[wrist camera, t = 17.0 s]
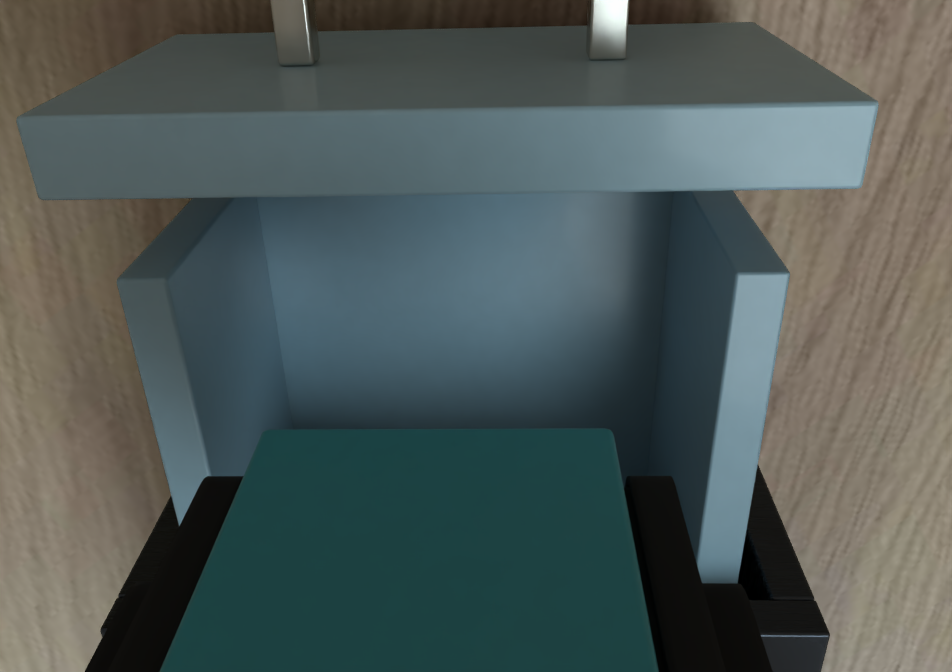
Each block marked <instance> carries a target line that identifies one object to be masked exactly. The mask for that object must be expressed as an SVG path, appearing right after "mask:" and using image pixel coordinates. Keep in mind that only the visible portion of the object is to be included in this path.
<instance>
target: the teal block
mask: <svg viewBox="0 0 952 672" xmlns="http://www.w3.org/2000/svg"><path fill="white" fill-rule="evenodd" d="M160 672H659V670H658V665H657V659H656V654H655V649H654V644H653V638H652V633H651V628H650V623H649V617H648V612H647V607H646V602H645V596H644V591H643V586H642V581H641V575H640V570H639V565H638V560H637V554H636V549H635V544H634V539H633V533H632V528H631V523H630V518H629V512H628V507H627V502H626V497H625V491H624V486H623V481H622V476H621V470H620V465H619V460H618V455H617V449H616V444H615V439H614V435H613V433H612V431H611V430H610V429H606V428H549V429H269V430H266V431H264V432H262V435H261V437H260V439H259V442H258V444H257V446H256V449H255V451H254V453H253V455H252V458H251V460H250V462H249V465H248V467H247V469H246V472H245V474H244V476H243V479H242V481H241V483H240V486H239V488H238V490H237V493H236V495H235V497H234V500H233V502H232V504H231V507H230V509H229V511H228V514H227V516H226V518H225V521H224V523H223V525H222V528H221V530H220V532H219V534H218V537H217V539H216V541H215V544H214V546H213V548H212V551H211V553H210V555H209V558H208V560H207V562H206V565H205V567H204V569H203V572H202V574H201V576H200V579H199V581H198V583H197V586H196V588H195V590H194V593H193V595H192V597H191V600H190V602H189V604H188V606H187V609H186V611H185V613H184V616H183V618H182V620H181V623H180V625H179V627H178V630H177V632H176V634H175V637H174V639H173V641H172V644H171V646H170V648H169V651H168V653H167V655H166V658H165V660H164V662H163V665H162V667H161V669H160Z"/></svg>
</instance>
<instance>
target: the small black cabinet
mask: <svg viewBox="0 0 952 672" xmlns="http://www.w3.org/2000/svg"><path fill="white" fill-rule="evenodd" d="M178 528H179V524H178V520H177V516H176V512H175V508H174V504H173V500H172V496H171V497H170V499H169V500H168V502H167V504H166V506H165V508H164V510H163V512H162V514H161V516H160V517H159V519H158V521H157V523H156V525H155V527H154V529H153V531H152V533H151V534H150V536H149V538H148V540H147V542H146V544H145V546H144V548H143V550H142V551H141V553H140V555H139V557H138V559H137V561H136V563H135V565H134V567H133V568H132V570H131V572H130V574H129V576H128V578H127V580H126V582H125V584H124V585H123V587H122V589H121V591H120V593H119V598H117V599H116V601H115V603H114V605H113V607H112V609H111V611H110V612H109V614H108V616H107V618H106V620H105V622H104V624H103V626H102V628H101V634H102V637H103V636H104V634H105V632H106V630H107V628H108V626H109V624H110V622H111V620H112V619H113V617H114V615H115V613H116V611H117V609H118V607H119V605H120V603H121V601H122V599H123V598H124V596H125V594H126V593H127V591H128V590H129V588H130V587H131V586H132V585H133V584H135V583H136V582H138V581H153V579H154V577H155V575H156V572H157V570H158V568H159V566H160V564H161V562H162V560H163V558H164V556H165V554H166V552H167V550H168V548H169V546H170V544H171V542H172V540H173V538H174V536H175V534H176V532H177V530H178ZM737 584H741V585H742V587H743V588H744V589H745V591H746V594H747V596H748V598H749V601H750V604H751V607H752V610H753V613H754V616H755V619H756V622H757V625H758V628H759V631H760V634H761V637H762V640H763V643H764V646H765V649H766V653H767V656H768V659H769V662H770V665H771V668H772V671H773V672H821V668H822V664H823V660H824V657H825V653H826V649H827V645H828V641H829V637H830V634H829V631H828V629H827V626H826V624H825V622H824V619H823V617H822V614H821V612H820V610H819V607H818V605H817V603H816V601H814V596H813V594H812V592H811V589H810V587H809V585H808V582H807V580H806V577H805V575H804V573H803V570H802V568H801V566H800V563H799V561H798V558H797V556H796V554H795V551H794V549H793V546H792V544H791V542H790V539H789V537H788V535H787V532H786V530H785V527H784V525H783V523H782V520H781V518H780V516H779V513H778V511H777V508H776V506H775V504H774V501H773V499H772V497H771V494H770V492H769V489H768V487H767V485H766V482H765V480H764V478H763V475H762V473H761V470H760V468H759V466H758V465H757V471H756V477H755V483H754V489H753V495H752V501H751V506H750V512H749V518H748V524H747V530H746V536H745V542H744V548H743V553H742V559H741V565H740V571H739V577H738V583H737Z"/></svg>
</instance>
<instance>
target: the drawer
mask: <svg viewBox="0 0 952 672" xmlns="http://www.w3.org/2000/svg"><path fill="white" fill-rule="evenodd" d="M629 4H630V0H588V8H587V26H547V27H502V28H456V29H410V30H364V31H317V22H316V13H315V4H314V0H270V5H271V12H272V20H273V27H274V32H272V33H226V34H180V35H175V36H173V37H171V38H169V39H167V40H165V41H163V42H161V43H159V44H157V45H155V46H153V47H151V48H149V49H147V50H145V51H144V52H142V53H140V54H138V55H136V56H134V57H132V58H130V59H128V60H126V61H124V62H122V63H120V64H118V65H117V66H115V67H113V68H111V69H109V70H107V71H105V72H103V73H101V74H99V75H97V76H95V77H93V78H91V79H89V80H88V81H86V82H84V83H82V84H80V85H78V86H76V87H74V88H72V89H70V90H68V91H66V92H64V93H62V94H60V95H59V96H57V97H55V98H53V99H51V100H49V101H47V102H45V103H43V104H41V105H39V106H37V107H35V108H33V109H31V110H30V111H28V112H26V113H24V114H22V115H20V116H18V117H17V125H18V129H19V132H20V136H21V139H22V143H23V146H24V149H25V153H26V156H27V160H28V163H29V167H30V170H31V174H32V177H33V180H34V184H35V187H36V191H37V194H38V197H39V198H40V199H41V200H94V199H164V198H192V200H191V201H190V202H189V203H188V204H187V205H186V206H185V207H184V208H183V209H182V210H181V211H180V212H179V213H178V214H177V216H176V217H175V218H174V219H173V220H172V221H171V222H170V223H169V224H168V225H167V226H166V227H165V228H164V229H163V231H162V232H161V233H160V234H159V235H158V236H157V237H156V238H155V239H154V240H153V241H152V242H151V243H150V244H149V245H148V247H147V248H146V249H145V250H144V251H143V252H142V253H141V254H140V255H139V256H138V257H137V258H136V259H135V260H134V261H133V263H132V264H131V265H130V266H129V267H128V268H127V269H126V270H125V271H124V272H123V273H122V274H121V275H120V276H119V277H118V279H117V286H118V290H119V294H120V298H121V301H122V305H123V309H124V313H125V317H126V321H127V325H128V329H129V333H130V337H131V340H132V344H133V348H134V352H135V356H136V360H137V364H138V368H139V372H140V376H141V379H142V383H143V387H144V391H145V395H146V399H147V403H148V407H149V411H150V415H151V418H152V422H153V426H154V430H155V434H156V438H157V442H158V446H159V450H160V454H161V457H162V461H163V465H164V469H165V473H166V477H167V481H168V485H169V489H170V493H171V496H172V500H173V504H174V508H175V512H176V516H177V520H178V524H179V526H180V524H181V522H182V520H183V518H184V516H185V514H186V512H187V510H188V508H189V506H190V504H191V502H192V500H193V498H194V496H195V494H196V492H197V490H198V488H199V486H200V484H201V482H202V481H203V479H204V478H205V477H207V476H244V474H245V472H246V469H247V467H248V465H249V462H250V460H251V458H252V455H253V453H254V451H255V449H256V446H257V444H258V442H259V439H260V437H261V435H262V432H264V431H266V430H269V429H549V428H606V429H610V430H611V431H612V433H613V435H614V439H615V444H616V449H617V455H618V460H619V465H620V470H621V476H622V481H623V486H624V487H625V482H626V478H627V476H671V477H672V478H673V480H674V483H675V486H676V490H677V493H678V497H679V501H680V504H681V508H682V512H683V515H684V519H685V523H686V526H687V530H688V534H689V537H690V541H691V545H692V548H693V552H694V556H695V559H696V563H697V567H698V570H699V574H700V578H701V581H702V583H736V584H737V583H738V577H739V571H740V565H741V559H742V553H743V548H744V542H745V536H746V530H747V524H748V518H749V512H750V506H751V501H752V495H753V489H754V483H755V477H756V471H757V465H758V459H759V454H760V448H761V442H762V436H763V430H764V424H765V418H766V412H767V407H768V401H769V395H770V389H771V383H772V377H773V371H774V365H775V360H776V354H777V348H778V342H779V336H780V330H781V324H782V318H783V313H784V307H785V301H786V295H787V289H788V283H789V277H790V273H789V271H788V269H787V268H786V266H785V265H784V264H783V262H782V261H781V259H780V258H779V256H778V255H777V253H776V252H775V251H774V249H773V248H772V246H771V245H770V243H769V242H768V241H767V239H766V238H765V236H764V235H763V233H762V232H761V230H760V229H759V228H758V226H757V225H756V223H755V222H754V220H753V219H752V218H751V216H750V215H749V213H748V212H747V210H746V209H745V208H744V206H743V205H742V203H741V202H740V200H739V199H738V197H737V196H736V195H735V193H734V192H733V190H800V189H857V188H861V186H862V184H863V179H864V174H865V169H866V165H867V160H868V155H869V150H870V145H871V140H872V135H873V130H874V125H875V121H876V116H877V111H878V106H879V105H878V101H876V100H875V99H873V98H872V97H870V96H869V95H867V94H865V93H864V92H862V91H861V90H859V89H858V88H856V87H854V86H853V85H851V84H850V83H848V82H847V81H845V80H843V79H842V78H840V77H839V76H837V75H836V74H834V73H832V72H831V71H829V70H828V69H826V68H825V67H823V66H821V65H820V64H818V63H817V62H815V61H814V60H812V59H810V58H809V57H807V56H806V55H804V54H803V53H801V52H799V51H798V50H796V49H795V48H793V47H792V46H790V45H788V44H787V43H785V42H784V41H782V40H781V39H779V38H777V37H776V36H774V35H773V34H771V33H770V32H768V31H767V30H765V29H763V28H762V27H760V26H759V25H757V24H756V23H753V22H731V23H685V24H639V25H628V21H629Z"/></svg>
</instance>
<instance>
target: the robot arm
mask: <svg viewBox="0 0 952 672" xmlns="http://www.w3.org/2000/svg"><path fill="white" fill-rule="evenodd" d="M242 479H243V476H207V477H205V478H204V479H203V481H202V482H201V484H200V486H199V488H198V490H197V492H196V494H195V496H194V498H193V500H192V502H191V504H190V506H189V508H188V510H187V512H186V514H185V516H184V518H183V520H182V522H181V524H180V526H179V528H178V530H177V532H176V534H175V536H174V538H173V540H172V542H171V544H170V546H169V548H168V550H167V552H166V554H165V556H164V558H163V560H162V562H161V564H160V566H159V568H158V570H157V572H156V575H155V577H154V579H153V581H138V582H136V583H135V584H133V585H132V586H131V587H130V588H129V590H128V591H127V593H126V594H125V596H124V598H123V599H122V601H121V603H120V605H119V607H118V609H117V611H116V613H115V615H114V617H113V619H112V620H111V622H110V624H109V626H108V628H107V630H106V632H105V634H104V636H103V638H102V640H101V641H100V643H99V645H98V647H97V649H96V651H95V653H94V655H93V657H92V659H91V661H90V663H89V664H88V666H87V668H86V670H85V672H160V669H161V667H162V665H163V662H164V660H165V658H166V655H167V653H168V651H169V648H170V646H171V644H172V641H173V639H174V637H175V634H176V632H177V630H178V627H179V625H180V623H181V620H182V618H183V616H184V613H185V611H186V609H187V606H188V604H189V602H190V600H191V597H192V595H193V593H194V590H195V588H196V586H197V583H198V581H199V579H200V576H201V574H202V572H203V569H204V567H205V565H206V562H207V560H208V558H209V555H210V553H211V551H212V548H213V546H214V544H215V541H216V539H217V537H218V534H219V532H220V530H221V528H222V525H223V523H224V521H225V518H226V516H227V514H228V511H229V509H230V507H231V504H232V502H233V500H234V497H235V495H236V493H237V490H238V488H239V486H240V483H241V481H242ZM624 491H625V497H626V502H627V507H628V512H629V518H630V523H631V528H632V533H633V539H634V544H635V549H636V554H637V560H638V565H639V570H640V575H641V581H642V586H643V591H644V596H645V602H646V607H647V612H648V617H649V623H650V628H651V633H652V638H653V644H654V649H655V654H656V659H657V665H658V670H659V672H773V671H772V668H771V665H770V662H769V659H768V656H767V653H766V649H765V646H764V643H763V640H762V637H761V634H760V631H759V628H758V625H757V622H756V619H755V616H754V613H753V610H752V607H751V604H750V601H749V598H748V596H747V594H746V591H745V589H744V588H743V587H742V585H741V584H736V583H702V581H701V578H700V574H699V570H698V567H697V563H696V559H695V556H694V552H693V548H692V545H691V541H690V537H689V534H688V530H687V526H686V523H685V519H684V515H683V512H682V508H681V504H680V501H679V497H678V493H677V490H676V486H675V483H674V480H673V478H672V477H671V476H627V478H626V482H625V487H624Z"/></svg>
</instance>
